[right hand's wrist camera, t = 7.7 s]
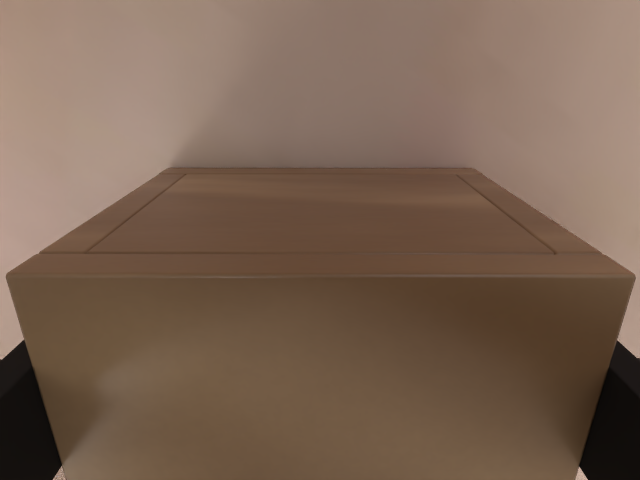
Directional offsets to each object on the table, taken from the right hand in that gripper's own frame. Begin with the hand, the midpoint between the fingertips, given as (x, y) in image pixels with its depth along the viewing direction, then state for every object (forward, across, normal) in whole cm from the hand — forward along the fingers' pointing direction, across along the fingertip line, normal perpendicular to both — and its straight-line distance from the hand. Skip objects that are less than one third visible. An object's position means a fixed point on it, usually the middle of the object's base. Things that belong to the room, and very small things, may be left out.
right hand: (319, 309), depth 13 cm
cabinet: (+5, 0, -5) cm, 7 cm away
